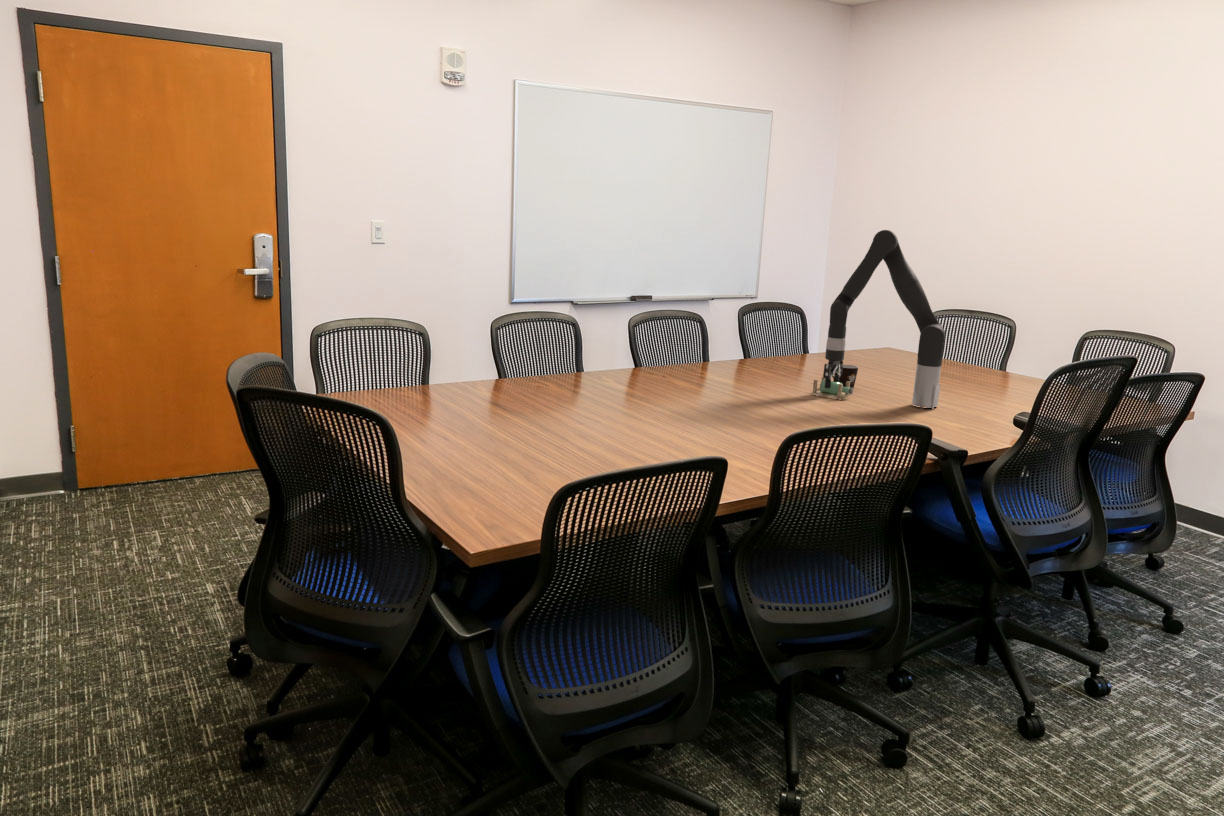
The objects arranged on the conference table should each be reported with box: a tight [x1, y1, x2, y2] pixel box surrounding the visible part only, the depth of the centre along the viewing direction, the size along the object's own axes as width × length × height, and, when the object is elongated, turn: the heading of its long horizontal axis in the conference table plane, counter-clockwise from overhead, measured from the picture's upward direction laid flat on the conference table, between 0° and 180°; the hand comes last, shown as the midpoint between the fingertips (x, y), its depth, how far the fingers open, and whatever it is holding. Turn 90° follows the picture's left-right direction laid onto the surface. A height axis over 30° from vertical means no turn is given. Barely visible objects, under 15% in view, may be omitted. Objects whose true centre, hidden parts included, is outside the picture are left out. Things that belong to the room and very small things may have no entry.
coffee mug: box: [832, 363, 859, 390], centre depth 380 cm, size 12×9×10 cm
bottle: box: [819, 379, 854, 396], centre depth 363 cm, size 13×5×5 cm, turn 53°
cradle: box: [810, 376, 851, 400], centre depth 364 cm, size 13×10×6 cm
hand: (831, 386), depth 364 cm, fingers open, 8 cm apart
